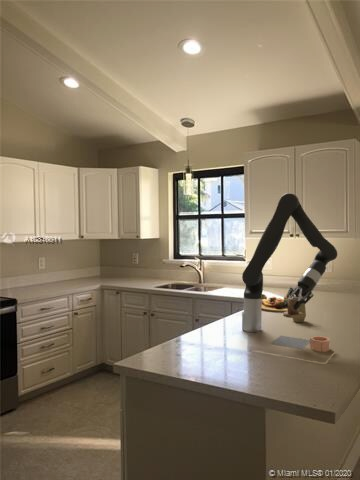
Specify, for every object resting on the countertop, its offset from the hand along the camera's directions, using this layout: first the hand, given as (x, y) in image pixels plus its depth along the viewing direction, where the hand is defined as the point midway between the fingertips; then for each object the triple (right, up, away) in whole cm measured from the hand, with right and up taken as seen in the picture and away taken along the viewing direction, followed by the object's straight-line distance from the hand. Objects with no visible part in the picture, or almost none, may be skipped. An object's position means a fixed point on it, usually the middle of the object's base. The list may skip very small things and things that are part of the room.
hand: (290, 307), depth 187 cm
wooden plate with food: (+14, -14, +83) cm, 85 cm away
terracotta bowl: (+11, -18, -8) cm, 22 cm away
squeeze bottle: (+17, -15, +44) cm, 50 cm away
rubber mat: (+1, -17, +2) cm, 17 cm away
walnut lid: (+2, -4, +1) cm, 4 cm away
